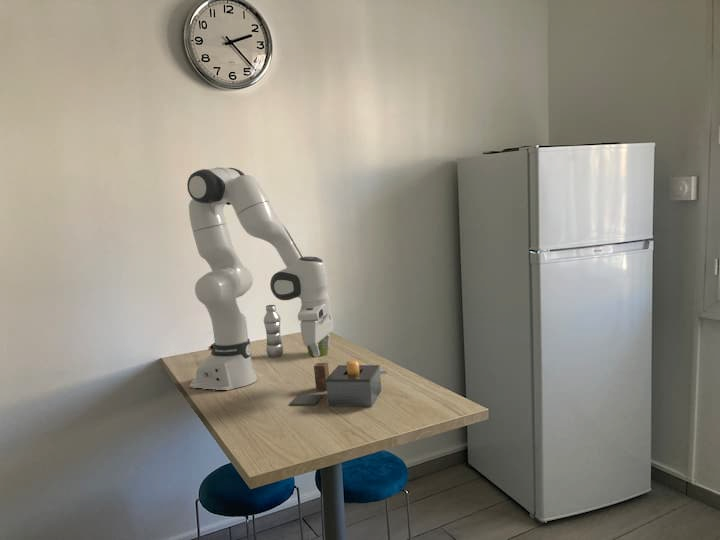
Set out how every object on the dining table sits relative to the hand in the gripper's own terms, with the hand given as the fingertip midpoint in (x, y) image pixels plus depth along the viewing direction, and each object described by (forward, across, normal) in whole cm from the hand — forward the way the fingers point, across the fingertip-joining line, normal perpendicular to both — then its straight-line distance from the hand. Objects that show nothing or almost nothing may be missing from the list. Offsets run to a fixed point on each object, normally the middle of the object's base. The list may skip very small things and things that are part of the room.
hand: (321, 352), depth 177 cm
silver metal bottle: (+11, -36, -32) cm, 50 cm away
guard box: (+12, +7, +12) cm, 18 cm away
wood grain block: (+12, 0, -1) cm, 12 cm away
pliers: (+13, -13, +9) cm, 21 cm away
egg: (+7, +7, +12) cm, 16 cm away
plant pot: (+12, -38, -15) cm, 43 cm away
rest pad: (+12, +10, -3) cm, 16 cm away
